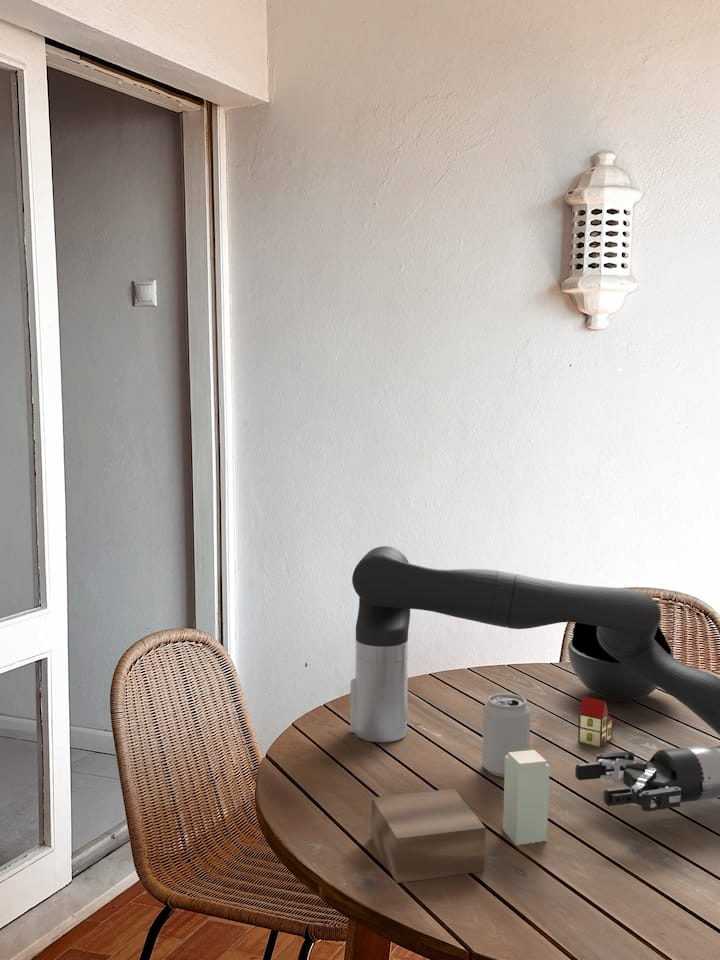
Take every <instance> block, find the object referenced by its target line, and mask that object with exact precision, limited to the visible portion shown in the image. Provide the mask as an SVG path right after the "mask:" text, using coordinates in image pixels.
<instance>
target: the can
mask: <svg viewBox="0 0 720 960" xmlns="http://www.w3.org/2000/svg"><path fill="white" fill-rule="evenodd" d="M482 714H483V715H482V716H483V718H482V751H481V752H482V753H481V754H482V755H481V759H482V760H481V763H482V766H483V767H484V768H485V770H487V772H489V774H492V775H493V776H497V777H502V778H504V776H505V756H508V752H517V751H527V750H530V733H531V732H530V730H531V709H530V707H529V706H528V705H527V699H526V698H525V697H523V696H520V695H518V694H513V693H495V694H491V695H490V696H488V697H487V703H485V704H484V705H483V713H482Z"/></svg>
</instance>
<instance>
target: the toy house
mask: <svg viewBox="0 0 720 960" xmlns="http://www.w3.org/2000/svg"><path fill="white" fill-rule="evenodd" d="M581 701H582V702H581V705H580V706H581V707H580V710H579V712H578V735H577V742H579V743H583V744H588V745H591V746H596V747H600V748H601V747H604V748H607V747H608V746H609V745H610V744H609V743H610V742H608V741H609V740H611V739H612V738H613V731H614V728H613V726H614V719H612V717H610V715H609V713H608V707H607V706H608V705H607V702H606V701H605V700H599V699H596V698H592V697H585V696H583V697H582V700H581Z"/></svg>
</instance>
